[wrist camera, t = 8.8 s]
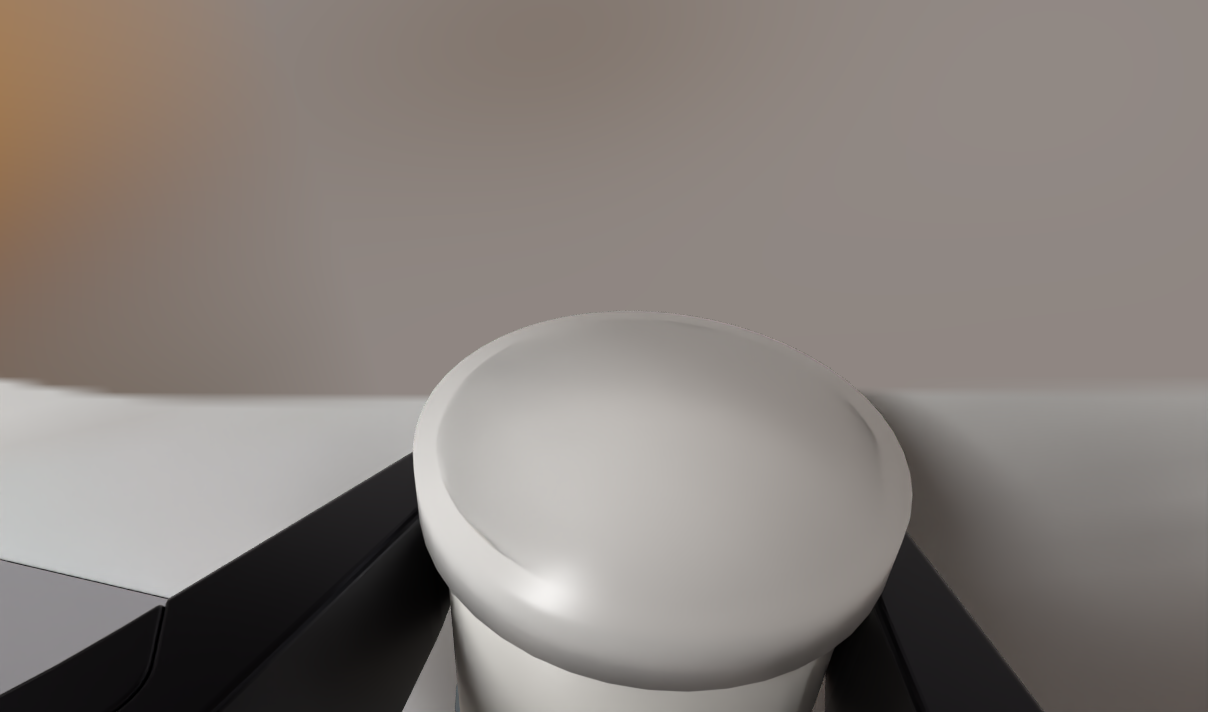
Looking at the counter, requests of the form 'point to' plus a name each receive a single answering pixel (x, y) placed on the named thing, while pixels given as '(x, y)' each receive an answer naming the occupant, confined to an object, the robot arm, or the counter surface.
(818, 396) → the cartridge
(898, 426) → the counter surface
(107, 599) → the button collar
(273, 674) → the robot arm
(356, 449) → the counter surface
